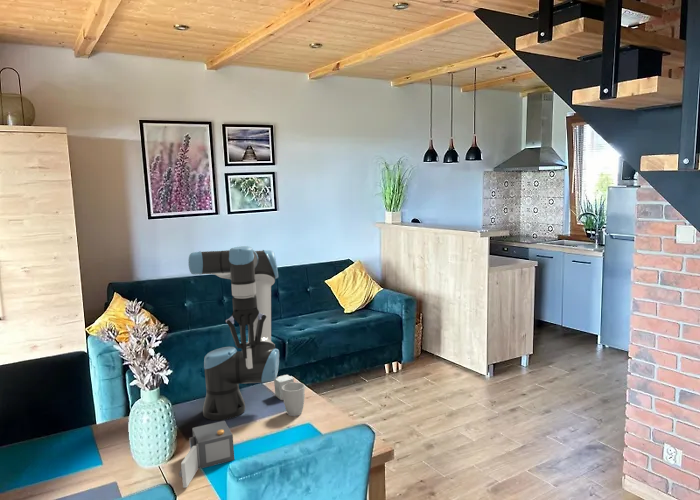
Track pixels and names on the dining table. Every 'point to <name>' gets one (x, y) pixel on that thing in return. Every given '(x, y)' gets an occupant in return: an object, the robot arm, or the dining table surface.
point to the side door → (190, 465)
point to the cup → (293, 398)
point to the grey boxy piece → (213, 443)
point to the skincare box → (281, 384)
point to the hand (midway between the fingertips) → (249, 367)
